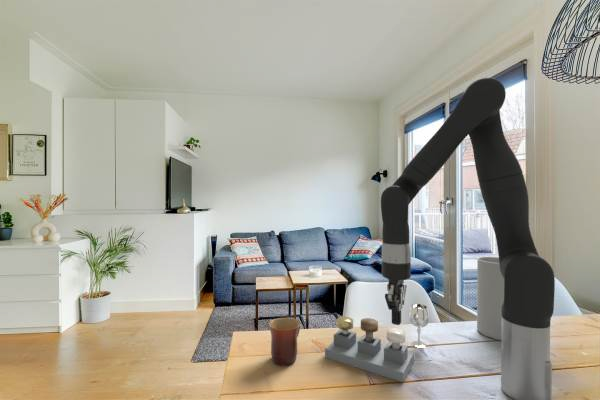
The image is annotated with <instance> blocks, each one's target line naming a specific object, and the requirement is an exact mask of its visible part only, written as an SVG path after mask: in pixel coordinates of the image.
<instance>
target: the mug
mask: <svg viewBox="0 0 600 400" xmlns="http://www.w3.org/2000/svg"><path fill="white" fill-rule="evenodd" d="M300 327H301V322H300V319H298V318H292V317H279V318H275V319H272V320H270V322H269V323H268V328H269V330H270V334H271V335H270V337H271V340H270V341H271V342H270V356H271V360H272V362H273V363H274V364H276V365H279V366H289V365H292V364H294V362H296V361H297V357H298V337H299V334H300Z"/></svg>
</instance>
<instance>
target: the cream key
mask: <svg viewBox="0 0 600 400" xmlns="http://www.w3.org/2000/svg"><path fill="white" fill-rule="evenodd" d="M386 340H387V341H388V342H389V341H390V342H392V349H395V350H398V351H400V344H404V343H406V332H405V330H402V329H400V328H395V327H392V328H388V329H387V330H386Z"/></svg>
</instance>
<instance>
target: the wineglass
mask: <svg viewBox="0 0 600 400" xmlns="http://www.w3.org/2000/svg"><path fill="white" fill-rule="evenodd" d="M408 317H409V321H410V323H411V325H413V326H414V327H416V328H417V329H416V331H417V340H414V341H413V340H412V341H411V343H410V345H412V347H416V348H419V349H424V348H426V347H427V344H426V343H425V342H423V341H421V337H420V335H421V331H422V330H421V328H424V327H426V326H428V325H429V323H430V322H429V321H430V315H429V309H428V306H427V305H424V304H420V303H413V304H411V305H410V309H409V314H408Z"/></svg>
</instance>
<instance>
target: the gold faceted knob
mask: <svg viewBox="0 0 600 400" xmlns="http://www.w3.org/2000/svg"><path fill="white" fill-rule="evenodd" d="M336 327H337V329H339V330H340V329H342V336H346V337H348V331H351V330H353V328H354V319H353V318H352V317H349V316H339V317H337V318H336Z"/></svg>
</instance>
